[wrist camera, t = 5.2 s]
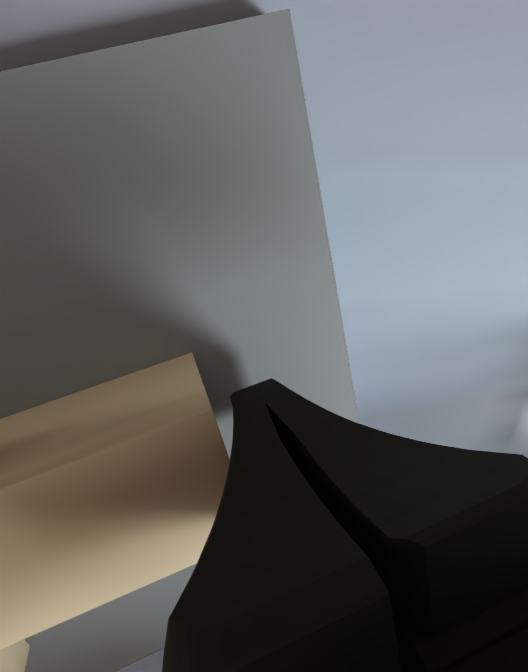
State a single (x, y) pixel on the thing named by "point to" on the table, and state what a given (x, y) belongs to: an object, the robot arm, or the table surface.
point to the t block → (103, 496)
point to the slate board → (162, 251)
